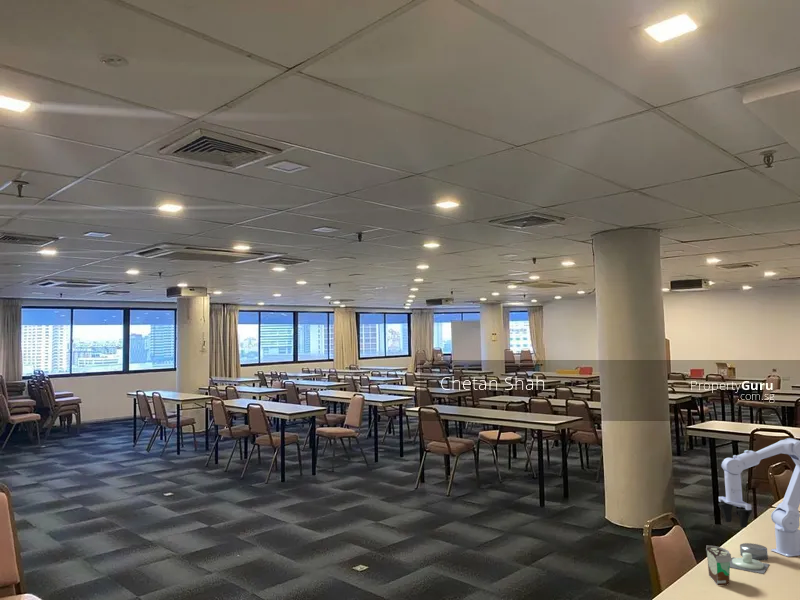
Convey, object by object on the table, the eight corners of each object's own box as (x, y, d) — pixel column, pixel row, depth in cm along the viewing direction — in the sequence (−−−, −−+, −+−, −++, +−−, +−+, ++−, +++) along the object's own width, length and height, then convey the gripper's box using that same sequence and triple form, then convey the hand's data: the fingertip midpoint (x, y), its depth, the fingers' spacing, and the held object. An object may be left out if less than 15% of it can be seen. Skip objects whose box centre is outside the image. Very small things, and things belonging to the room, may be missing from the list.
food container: (739, 588, 196) (736, 557, 197) (718, 587, 197) (716, 556, 198) (726, 574, 208) (724, 545, 209) (707, 573, 209) (705, 544, 210)
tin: (754, 551, 232) (753, 542, 232) (773, 559, 223) (772, 549, 223) (735, 553, 230) (734, 544, 230) (753, 561, 221) (753, 551, 221)
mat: (732, 558, 225) (732, 557, 225) (769, 564, 217) (769, 563, 217) (725, 566, 216) (725, 566, 216) (763, 574, 208) (763, 573, 208)
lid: (747, 559, 223) (746, 548, 223) (770, 568, 213) (769, 556, 213) (725, 562, 220) (725, 551, 220) (748, 571, 210) (747, 559, 211)
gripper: (711, 486, 240) (713, 520, 239) (739, 493, 226) (742, 530, 225) (725, 484, 242) (728, 518, 241) (754, 492, 228) (757, 528, 227)
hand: (736, 524), depth 233 cm, fingers open, 7 cm apart
